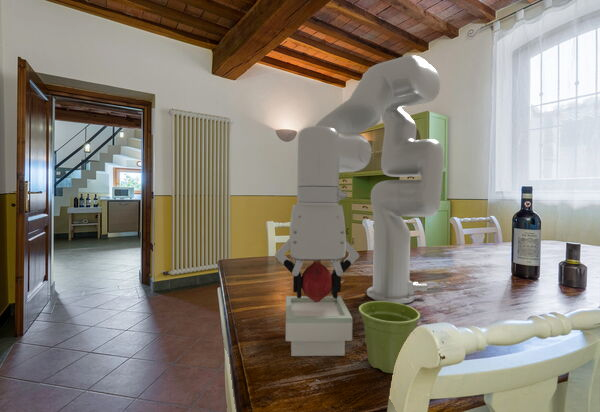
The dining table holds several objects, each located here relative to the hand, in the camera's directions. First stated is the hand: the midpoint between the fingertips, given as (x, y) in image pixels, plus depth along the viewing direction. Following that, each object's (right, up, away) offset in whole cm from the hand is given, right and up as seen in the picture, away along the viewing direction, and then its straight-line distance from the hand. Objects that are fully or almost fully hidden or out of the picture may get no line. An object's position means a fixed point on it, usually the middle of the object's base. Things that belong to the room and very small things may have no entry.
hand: (316, 295), depth 55 cm
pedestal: (0, -9, 0) cm, 9 cm away
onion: (0, -2, 0) cm, 2 cm away
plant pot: (+11, -9, -6) cm, 16 cm away
